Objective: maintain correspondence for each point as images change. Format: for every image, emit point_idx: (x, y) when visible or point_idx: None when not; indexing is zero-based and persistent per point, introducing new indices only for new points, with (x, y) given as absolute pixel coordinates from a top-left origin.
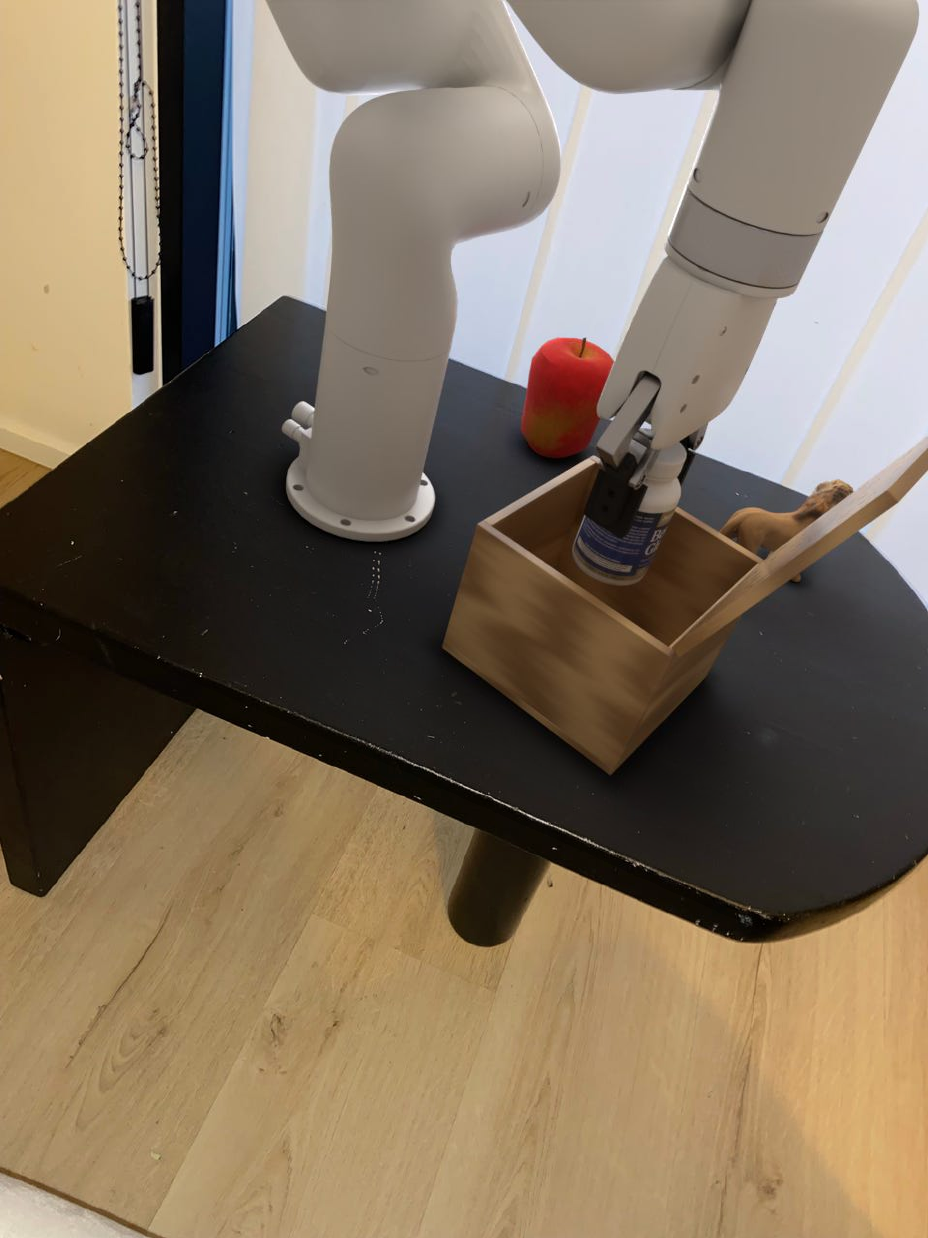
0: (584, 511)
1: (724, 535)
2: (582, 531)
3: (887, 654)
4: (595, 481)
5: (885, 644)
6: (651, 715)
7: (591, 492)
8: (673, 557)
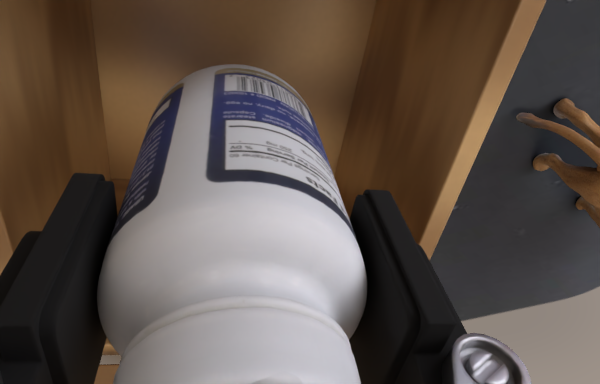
0: (74, 175)
1: (587, 153)
2: (161, 119)
3: (495, 295)
4: (27, 258)
5: (510, 290)
6: None
7: (48, 222)
8: (389, 186)
